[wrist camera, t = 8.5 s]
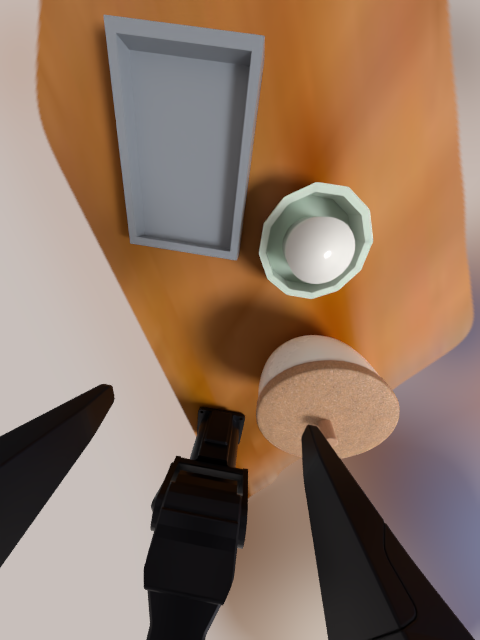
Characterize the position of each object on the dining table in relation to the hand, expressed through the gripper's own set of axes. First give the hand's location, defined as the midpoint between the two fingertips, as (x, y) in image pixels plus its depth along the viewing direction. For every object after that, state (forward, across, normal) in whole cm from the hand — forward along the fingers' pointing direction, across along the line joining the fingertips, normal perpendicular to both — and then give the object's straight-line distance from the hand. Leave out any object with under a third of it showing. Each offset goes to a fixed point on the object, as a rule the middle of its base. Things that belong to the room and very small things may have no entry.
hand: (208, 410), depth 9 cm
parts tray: (+12, +5, -11) cm, 17 cm away
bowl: (+12, -5, -7) cm, 15 cm away
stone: (+12, -5, -7) cm, 14 cm away
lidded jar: (+13, -9, +5) cm, 16 cm away
